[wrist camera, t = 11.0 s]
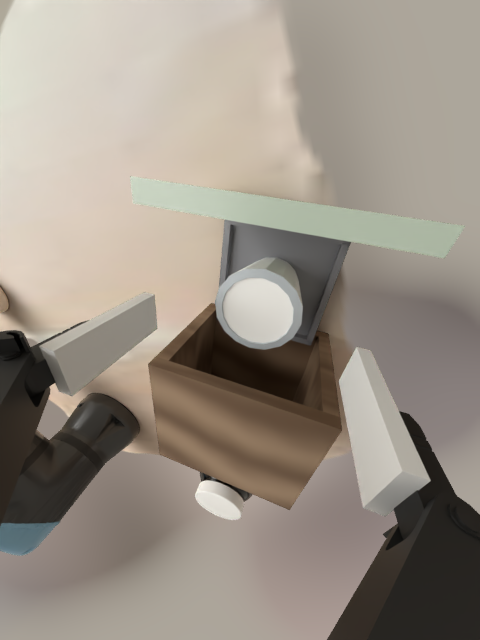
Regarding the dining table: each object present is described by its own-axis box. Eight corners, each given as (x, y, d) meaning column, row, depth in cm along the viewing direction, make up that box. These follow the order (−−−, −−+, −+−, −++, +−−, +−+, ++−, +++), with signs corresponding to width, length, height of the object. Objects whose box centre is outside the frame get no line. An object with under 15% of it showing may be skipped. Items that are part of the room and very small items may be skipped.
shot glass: (308, 310, 22) (308, 349, 16) (247, 316, 24) (227, 351, 18) (300, 243, 19) (296, 259, 13) (232, 258, 22) (203, 277, 16)
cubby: (211, 303, 27) (148, 364, 17) (328, 333, 24) (342, 429, 14) (206, 378, 34) (159, 454, 24) (296, 408, 31) (289, 510, 21)
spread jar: (269, 448, 38) (255, 531, 28) (217, 445, 43) (190, 515, 33) (247, 400, 34) (221, 479, 24) (192, 403, 39) (152, 469, 29)
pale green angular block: (215, 190, 20) (129, 176, 10) (380, 215, 17) (465, 225, 8) (208, 311, 26) (152, 367, 17) (326, 342, 24) (335, 430, 14)
